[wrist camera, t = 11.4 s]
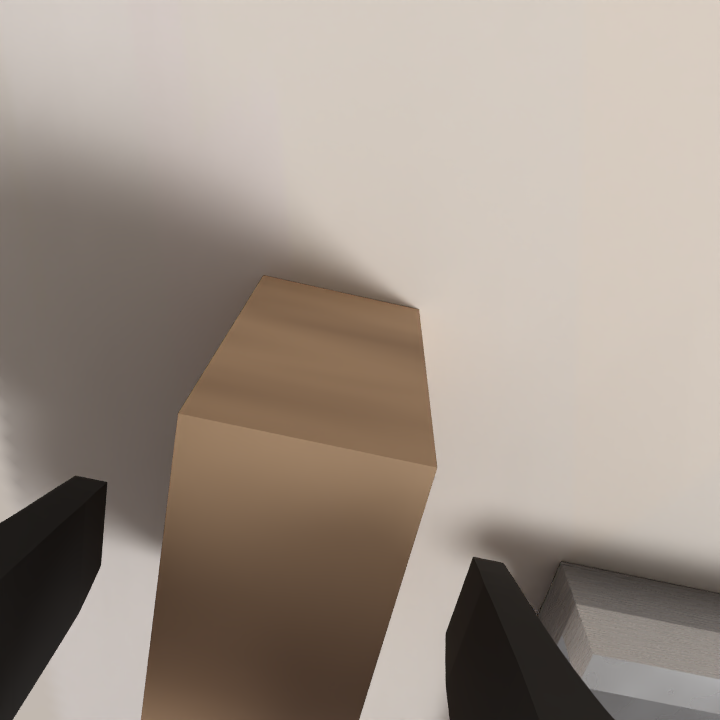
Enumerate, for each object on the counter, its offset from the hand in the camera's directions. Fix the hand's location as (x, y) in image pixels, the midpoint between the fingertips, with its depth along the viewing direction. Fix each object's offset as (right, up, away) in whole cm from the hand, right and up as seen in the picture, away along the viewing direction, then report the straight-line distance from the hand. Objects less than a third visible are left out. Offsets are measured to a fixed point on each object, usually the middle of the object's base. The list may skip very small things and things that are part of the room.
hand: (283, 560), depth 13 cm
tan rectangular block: (0, +2, +4) cm, 4 cm away
